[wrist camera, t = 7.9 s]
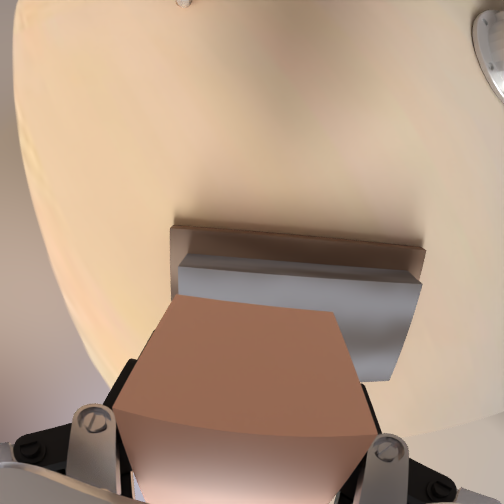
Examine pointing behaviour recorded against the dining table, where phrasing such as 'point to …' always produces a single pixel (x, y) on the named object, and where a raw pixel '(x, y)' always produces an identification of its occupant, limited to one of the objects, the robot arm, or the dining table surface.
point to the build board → (289, 249)
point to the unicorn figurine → (183, 3)
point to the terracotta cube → (243, 406)
